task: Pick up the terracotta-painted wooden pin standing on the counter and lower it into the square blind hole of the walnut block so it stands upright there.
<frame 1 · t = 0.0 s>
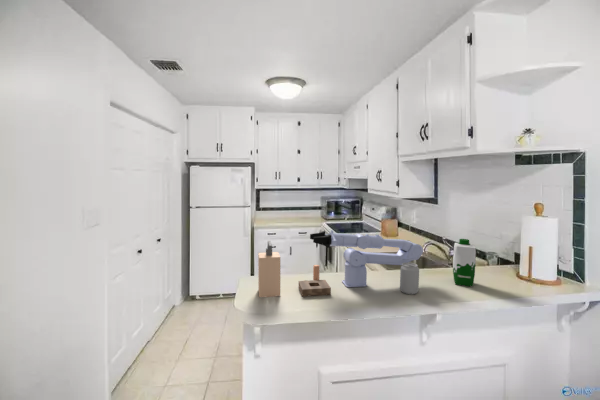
hand: (311, 238, 132), 22 cm above the countertop, tool horizontal, fingers open, 7 cm apart
milk carton: (462, 283, 138), on the countertop
soap dispenser: (269, 295, 123), on the countertop
can: (408, 292, 127), on the countertop
pin: (316, 282, 138), on the countertop
block: (314, 291, 127), on the countertop
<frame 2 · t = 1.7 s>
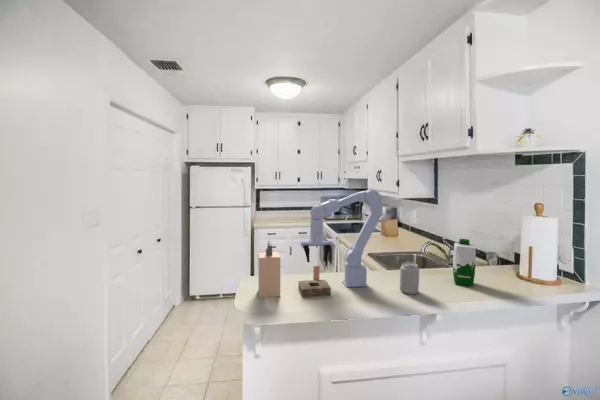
hand: (316, 261, 137), 10 cm above the countertop, tool pointing down, fingers open, 7 cm apart
nothing on the countertop moved.
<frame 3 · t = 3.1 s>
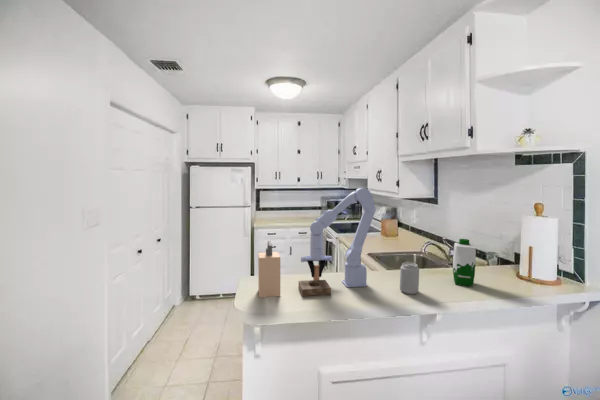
hand: (316, 276, 137), 3 cm above the countertop, tool pointing down, fingers closed on pin, 3 cm apart
pin: (316, 282, 138), on the countertop, touching gripper
everything else where it was.
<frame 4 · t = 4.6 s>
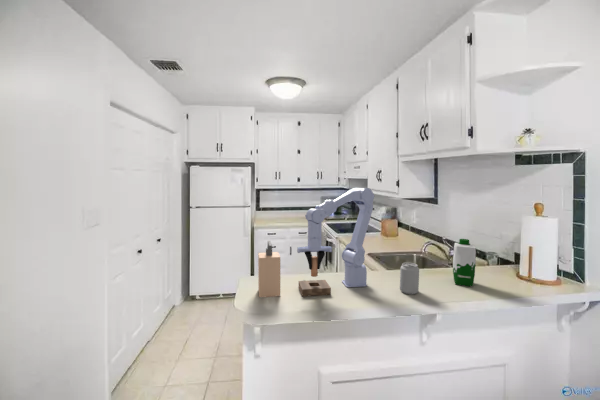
hand: (314, 268, 127), 10 cm above the countertop, tool pointing down, fingers closed on pin, 3 cm apart
pin: (314, 275, 127), point 7 cm above the countertop, touching gripper
everything else where it was.
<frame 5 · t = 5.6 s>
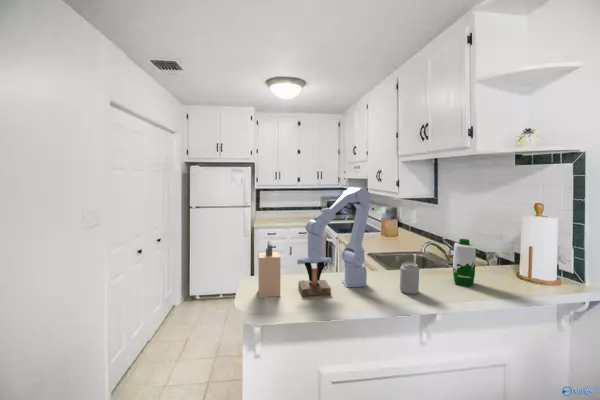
hand: (314, 279, 127), 5 cm above the countertop, tool pointing down, fingers closed on pin, 3 cm apart
pin: (314, 286, 127), point 2 cm above the countertop, touching gripper
everything else where it was.
when the fingers open (4 cm above the countertop, at t = 6.2 s): pin stays where it is, resting on block.
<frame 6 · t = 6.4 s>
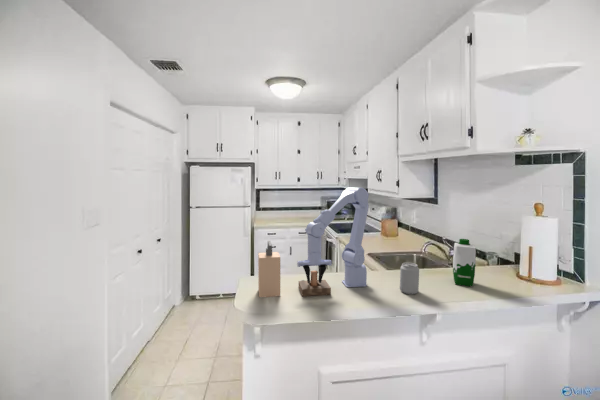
hand: (314, 282, 127), 4 cm above the countertop, tool pointing down, fingers open, 4 cm apart
pin: (314, 289, 127), point 1 cm above the countertop, touching block
everything else where it was.
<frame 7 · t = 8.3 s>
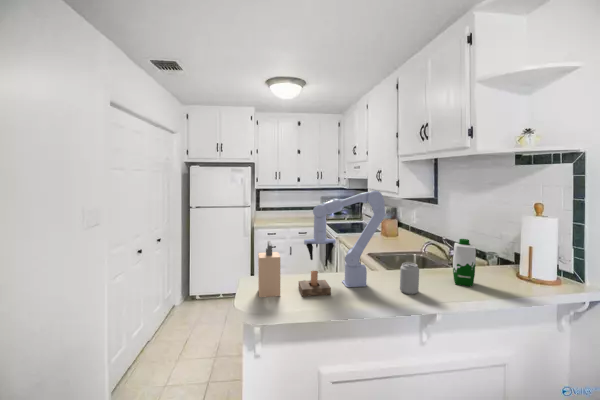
hand: (319, 259, 139), 10 cm above the countertop, tool pointing down, fingers open, 7 cm apart
nothing on the countertop moved.
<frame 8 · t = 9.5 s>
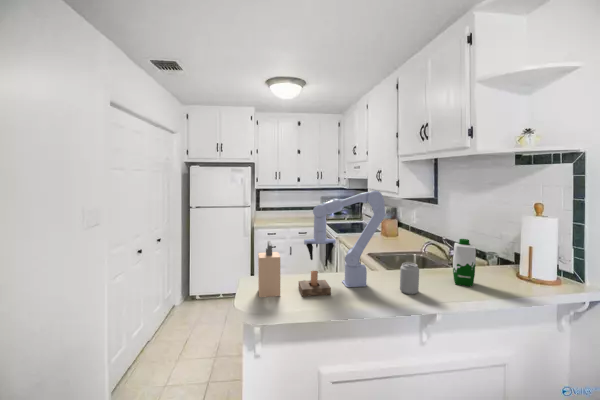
hand: (319, 259, 139), 10 cm above the countertop, tool pointing down, fingers open, 7 cm apart
nothing on the countertop moved.
at the end: pin 0.1 cm off-centre on the block, point 0.5 cm above the block's base; pin tilted 0°; the gripper is holding nothing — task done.
